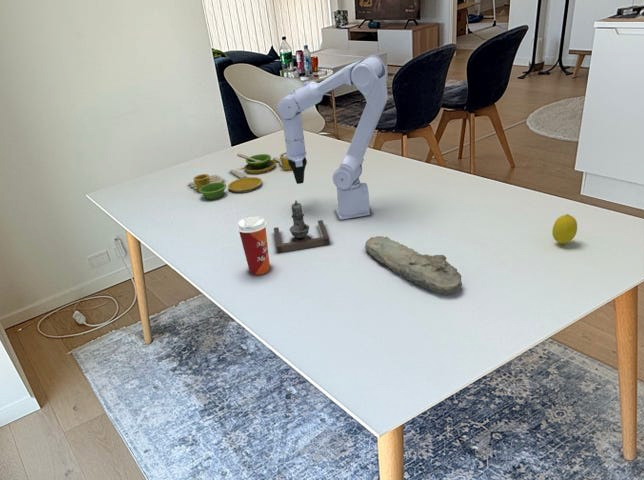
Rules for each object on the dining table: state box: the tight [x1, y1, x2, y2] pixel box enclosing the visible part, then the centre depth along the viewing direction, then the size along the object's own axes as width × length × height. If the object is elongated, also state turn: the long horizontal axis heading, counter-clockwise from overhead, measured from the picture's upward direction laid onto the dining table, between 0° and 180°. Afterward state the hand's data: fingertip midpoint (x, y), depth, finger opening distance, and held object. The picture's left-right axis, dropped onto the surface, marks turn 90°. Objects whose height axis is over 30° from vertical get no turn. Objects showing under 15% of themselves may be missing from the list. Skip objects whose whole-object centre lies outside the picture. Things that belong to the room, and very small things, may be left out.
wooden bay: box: [273, 219, 330, 254], centre depth 166 cm, size 15×14×2 cm
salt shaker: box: [289, 200, 311, 242], centre depth 163 cm, size 6×6×12 cm
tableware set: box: [188, 151, 292, 200], centre depth 214 cm, size 41×28×6 cm
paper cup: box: [236, 216, 271, 276], centre depth 150 cm, size 8×8×14 cm
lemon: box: [551, 213, 578, 246], centre depth 141 cm, size 6×6×8 cm
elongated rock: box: [364, 235, 463, 295], centre depth 142 cm, size 35×5×10 cm
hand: (299, 182), depth 178 cm, fingers closed
